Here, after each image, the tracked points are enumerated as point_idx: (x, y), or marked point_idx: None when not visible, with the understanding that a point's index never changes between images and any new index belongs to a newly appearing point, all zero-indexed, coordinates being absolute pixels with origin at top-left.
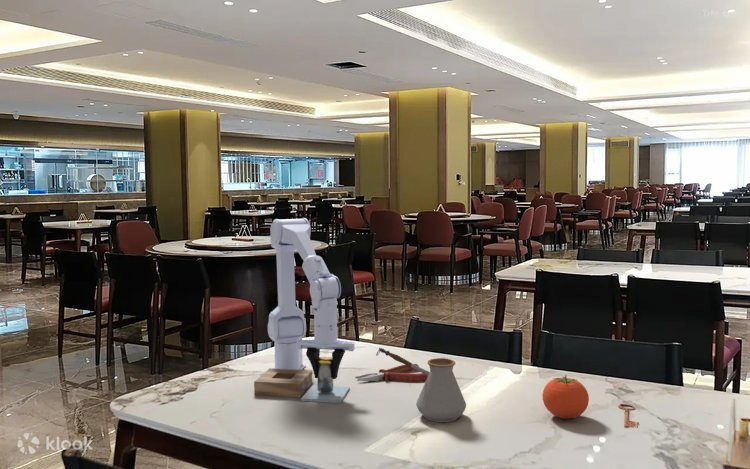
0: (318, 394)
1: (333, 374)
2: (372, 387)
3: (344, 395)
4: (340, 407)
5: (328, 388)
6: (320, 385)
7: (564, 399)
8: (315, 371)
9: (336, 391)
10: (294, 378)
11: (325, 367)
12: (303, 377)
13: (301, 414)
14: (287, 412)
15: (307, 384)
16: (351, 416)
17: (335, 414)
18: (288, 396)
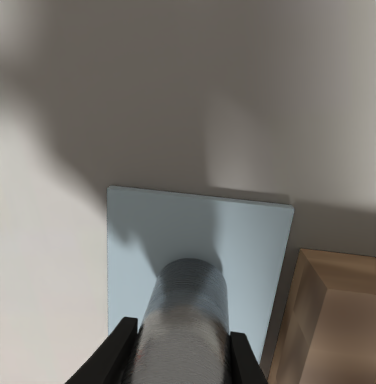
0: (219, 262)
1: (123, 336)
2: (37, 352)
3: (108, 258)
4: (100, 129)
5: (168, 272)
6: (208, 283)
7: None
8: (246, 366)
9: (148, 297)
10: (362, 367)
11: (163, 378)
12: (312, 380)
13: (272, 4)
14: (352, 30)
15: (280, 360)
16: (19, 2)
17: (100, 25)
18: (355, 255)
